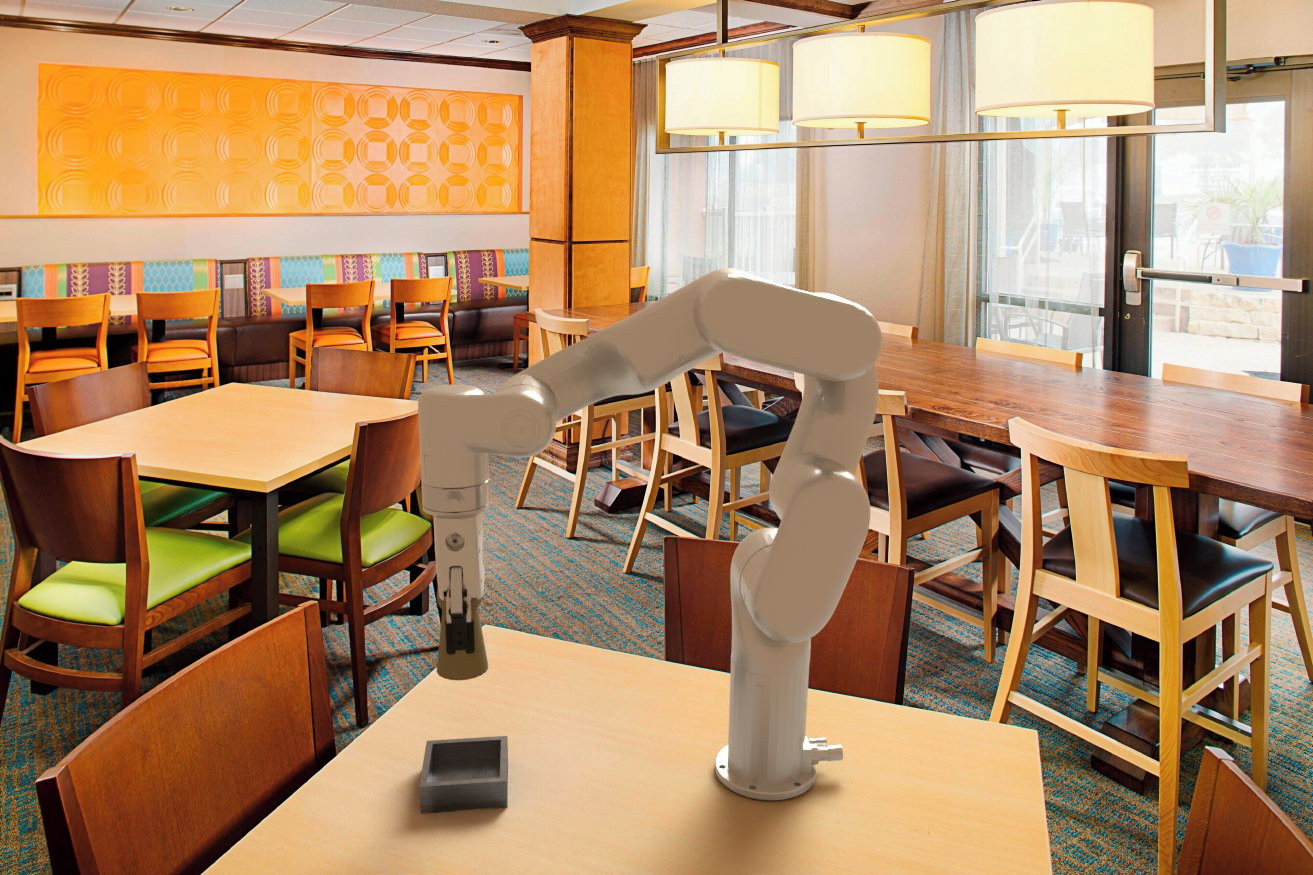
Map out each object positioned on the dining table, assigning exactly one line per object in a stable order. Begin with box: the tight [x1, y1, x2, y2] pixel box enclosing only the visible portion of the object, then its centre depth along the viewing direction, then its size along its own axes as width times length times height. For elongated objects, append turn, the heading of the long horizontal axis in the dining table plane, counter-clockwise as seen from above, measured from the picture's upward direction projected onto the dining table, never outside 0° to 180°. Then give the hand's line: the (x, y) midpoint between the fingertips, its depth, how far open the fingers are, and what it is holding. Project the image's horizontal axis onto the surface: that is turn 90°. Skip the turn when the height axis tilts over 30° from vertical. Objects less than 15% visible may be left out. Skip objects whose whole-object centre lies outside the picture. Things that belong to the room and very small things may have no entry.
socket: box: [418, 735, 509, 814], centre depth 120 cm, size 10×10×4 cm
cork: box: [436, 590, 489, 681], centre depth 115 cm, size 6×6×11 cm
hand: (461, 642), depth 116 cm, fingers closed on cork, 3 cm apart
